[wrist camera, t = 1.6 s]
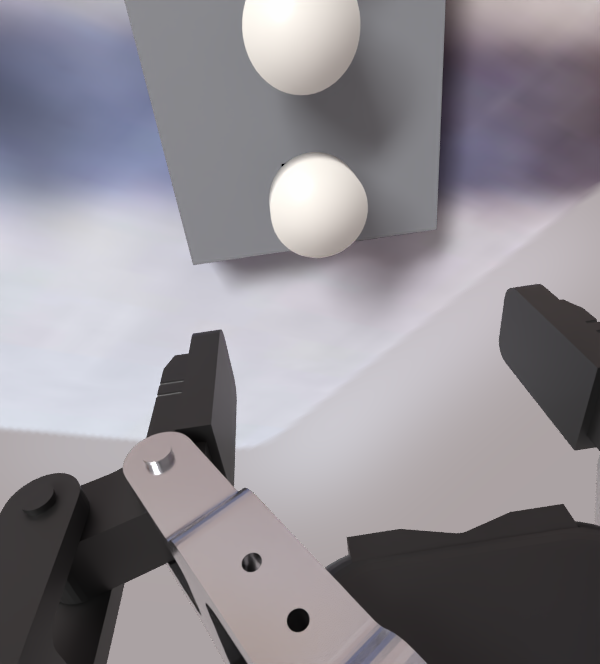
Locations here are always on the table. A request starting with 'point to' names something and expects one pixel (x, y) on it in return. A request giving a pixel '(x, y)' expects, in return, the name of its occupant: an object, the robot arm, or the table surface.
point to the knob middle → (301, 41)
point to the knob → (317, 205)
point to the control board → (291, 119)
